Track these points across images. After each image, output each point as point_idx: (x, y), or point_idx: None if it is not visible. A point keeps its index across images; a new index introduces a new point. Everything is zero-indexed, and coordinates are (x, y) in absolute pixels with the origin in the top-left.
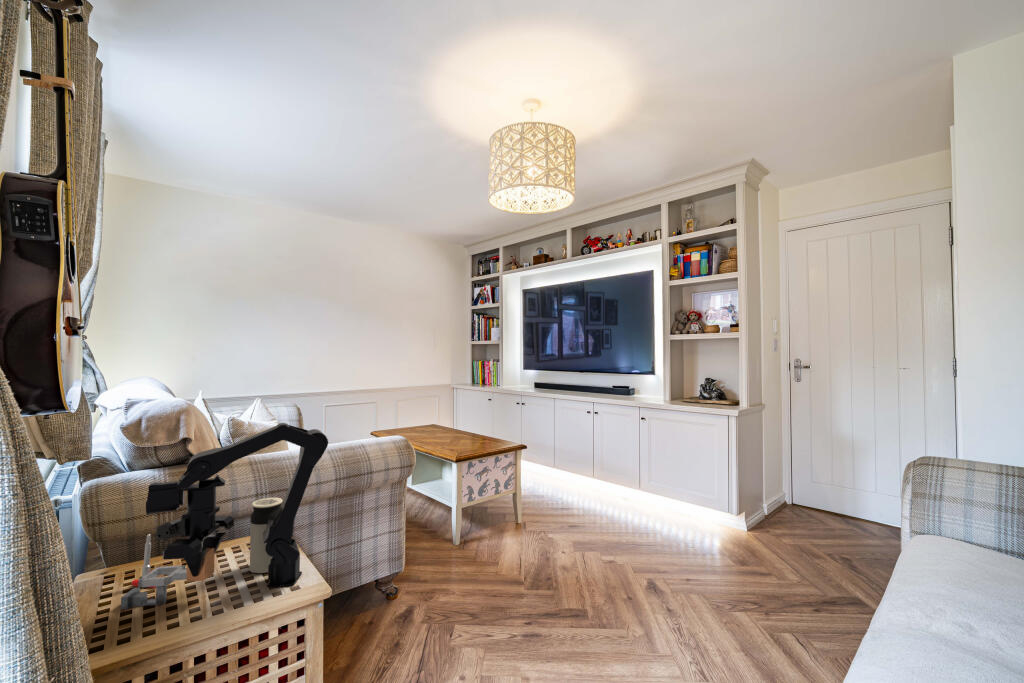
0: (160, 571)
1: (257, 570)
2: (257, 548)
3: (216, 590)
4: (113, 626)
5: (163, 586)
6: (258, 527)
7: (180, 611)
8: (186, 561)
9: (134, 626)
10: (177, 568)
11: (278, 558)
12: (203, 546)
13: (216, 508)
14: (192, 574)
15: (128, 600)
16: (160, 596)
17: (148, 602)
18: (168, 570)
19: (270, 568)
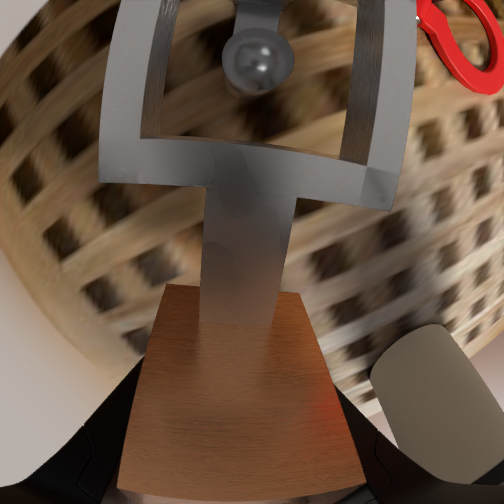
0: (369, 8)
1: (380, 365)
2: (411, 425)
3: (308, 284)
4: (84, 10)
5: (232, 82)
6: None
7: (146, 214)
8: (59, 453)
9: (62, 90)
10: (337, 162)
11: None
12: (360, 502)
13: None
14: (141, 363)
15: None
16: (224, 78)
17: (244, 26)
18: (368, 66)
19: None
